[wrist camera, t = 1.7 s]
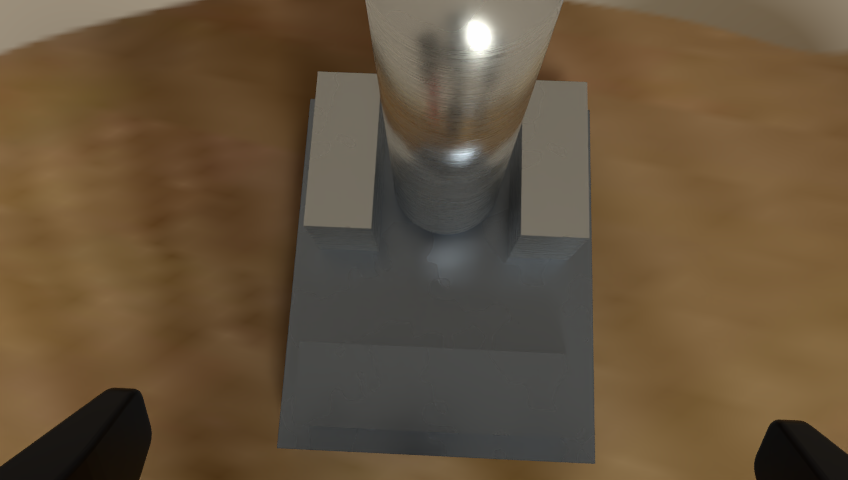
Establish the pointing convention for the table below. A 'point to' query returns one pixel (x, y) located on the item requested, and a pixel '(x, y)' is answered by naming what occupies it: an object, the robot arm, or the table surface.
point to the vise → (442, 295)
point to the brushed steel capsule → (455, 98)
